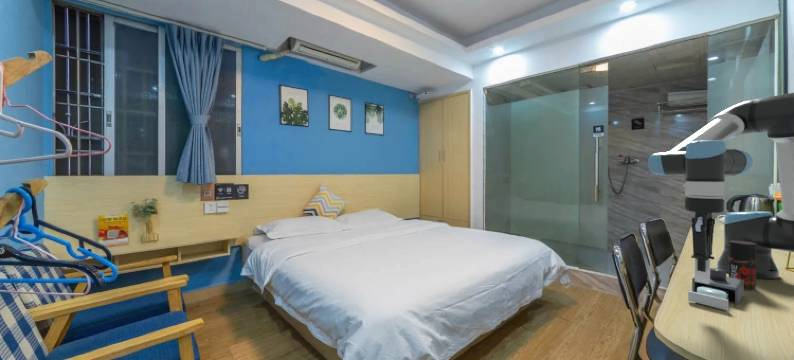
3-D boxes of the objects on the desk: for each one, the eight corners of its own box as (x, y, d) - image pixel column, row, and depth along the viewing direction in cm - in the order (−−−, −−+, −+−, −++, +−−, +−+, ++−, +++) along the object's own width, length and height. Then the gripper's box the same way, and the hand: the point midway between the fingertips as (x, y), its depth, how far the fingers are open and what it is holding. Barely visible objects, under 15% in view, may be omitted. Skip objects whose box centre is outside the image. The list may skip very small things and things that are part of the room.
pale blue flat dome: (721, 295, 90) (721, 289, 90) (730, 303, 85) (730, 296, 85) (693, 291, 93) (694, 285, 93) (701, 299, 88) (701, 292, 88)
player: (700, 285, 101) (700, 263, 101) (743, 295, 93) (744, 270, 93) (692, 293, 95) (692, 269, 95) (737, 304, 87) (738, 278, 87)
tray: (697, 291, 95) (697, 282, 95) (734, 300, 89) (735, 290, 89) (688, 300, 89) (688, 291, 89) (727, 310, 82) (727, 300, 82)
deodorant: (725, 285, 101) (725, 241, 101) (733, 282, 103) (733, 239, 103) (750, 291, 96) (751, 245, 95) (759, 288, 98) (759, 243, 97)
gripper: (691, 195, 89) (689, 273, 89) (678, 197, 81) (677, 283, 82) (728, 196, 82) (726, 281, 83) (718, 199, 75) (716, 292, 75)
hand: (702, 282), depth 82 cm, fingers closed
